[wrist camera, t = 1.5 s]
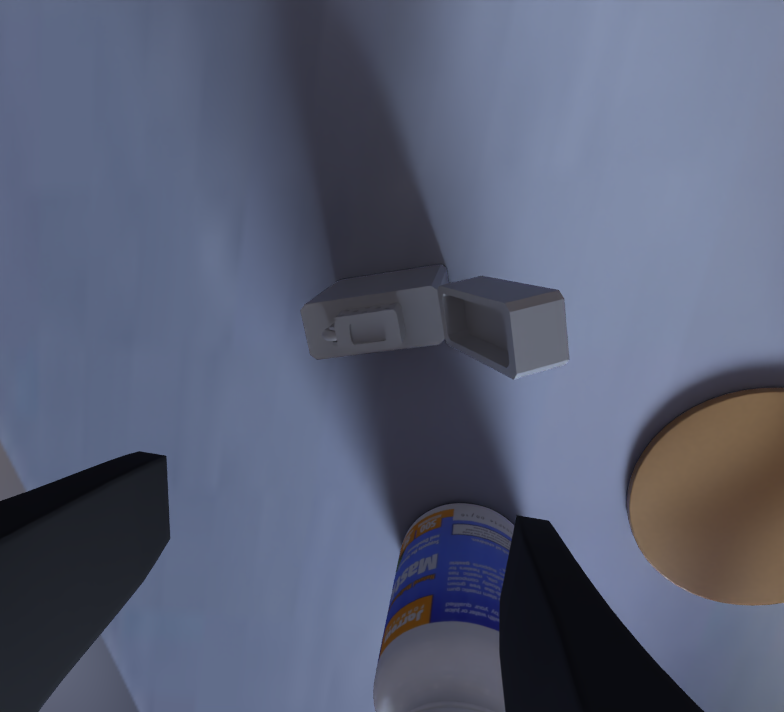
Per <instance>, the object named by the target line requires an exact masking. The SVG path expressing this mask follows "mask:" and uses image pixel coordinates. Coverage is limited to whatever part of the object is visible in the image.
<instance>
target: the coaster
mask: <svg viewBox="0 0 784 712" xmlns="http://www.w3.org/2000/svg"><path fill="white" fill-rule="evenodd" d="M627 513H628V520H629V523H630V527H631V531H632V533H633V535H634V538H635V540H636V542H637V545H638V547H639V548H640V550H641V552H642V553H643V555H644V556H645V558H646V559H647V560H648V561H649V563H650V564H651V565H652V566H653V567H654V568H655V569H656V570H657V571H658V572H659V573H660V574H661V575H662V576H664V577H665V578H666V579H668V580H669V581H671V582H672V583H673V584H675V585H676V586H678V587H680V588H682V589H684V590H686V591H688V592H690V593H692V594H695V595H697V596H700V597H703V598H705V599H709V600H713V601H717V602H721V603H728V604H735V605H751V606H754V605H771V604H778V603H784V388H757V389H749V390H742V391H737V392H733V393H729V394H725V395H722V396H719V397H716V398H713V399H710V400H708V401H706V402H703V403H701V404H699V405H697V406H695V407H693V408H691V409H689V410H688V411H686V412H685V413H683V414H681V415H680V416H678V417H677V418H675V419H674V420H673V421H672V422H670V423H669V424H668V425H667V426H665V427H664V428H663V429H662V430H661V431H660V432H659V433H658V434H657V435H656V436H655V437H654V438H653V439H652V441H651V442H650V443H649V444H648V446H647V447H646V448H645V450H644V451H643V453H642V454H641V456H640V458H639V460H638V462H637V463H636V465H635V468H634V471H633V473H632V476H631V479H630V483H629V487H628V493H627Z"/></svg>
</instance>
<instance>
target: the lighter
mask: <svg viewBox="0 0 784 712" xmlns="http://www.w3.org/2000/svg"><path fill="white" fill-rule="evenodd" d="M300 312H301V316H302V321H303V325H304V329H305V334H306V338H307V343H308V347H309V351H310V355H311V356H312V357H314V358H315V359H317V360H319V359H327V358H335V357H343V356H351V355H359V354H367V353H375V352H383V351H391V350H399V349H407V348H415V347H423V346H431V345H439V344H441V343H442V342H443V340H444V339H445V340H446V342H447V344H448V345H449V346H451V347H453V348H455V349H457V350H458V351H460V352H462V353H464V354H466V355H468V356H470V357H472V358H474V359H476V360H478V361H479V362H481V363H483V364H485V365H487V366H489V367H491V368H493V369H495V370H497V371H498V372H500V373H502V374H504V375H506V376H508V377H510V378H512V379H517V378H521V377H524V376H528V375H532V374H535V373H539V372H542V371H546V370H549V369H553V368H556V367H560V366H563V365H566V363H567V362H568V361H569V349H568V337H567V326H566V314H565V302H564V298H563V296H562V294H561V293H560V291H559V290H556V289H550V288H545V287H540V286H534V285H529V284H523V283H518V282H512V281H507V280H502V279H496V278H491V277H485V276H479V277H474V278H470V279H466V280H461V281H457V282H452V283H449V280H448V273H447V268H446V267H445V266H443V265H442V264H438V265H432V266H425V267H419V268H412V269H406V270H399V271H393V272H387V273H380V274H374V275H367V276H361V277H354V278H348V279H341V280H339V281H337V282H336V283H334V284H333V285H332V286H330V287H329V288H327V289H326V290H324V291H323V292H322V293H320V294H319V295H317V296H316V297H314V298H313V299H312V300H310V301H309V302H307V303H306V304H304V306H303V308H302V309H301V311H300Z"/></svg>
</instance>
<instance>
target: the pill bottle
mask: <svg viewBox="0 0 784 712" xmlns="http://www.w3.org/2000/svg"><path fill="white" fill-rule="evenodd" d="M513 531H514V525H513V524H512V523H511V522H510V521H509V520H507V519H506V518H505V517H504V516H502V515H501V514H499V513H497V512H495V511H493V510H491V509H489V508H486V507H483V506H479V505H475V504H468V503H453V504H447V505H443V506H439V507H437V508H434V509H432V510H430V511H428V512H426V513H425V514H423V515H422V516H421V517H420V518H418V519H417V520H416V521H415V522H414V523H413V524H412V526H411V527H410V528H409V530H408V532H407V534H406V536H405V538H404V541H403V544H402V547H401V551H400V555H399V561H398V565H397V570H396V575H395V580H394V585H393V589H392V595H391V599H390V605H389V610H388V615H387V619H386V624H385V629H384V634H383V639H382V644H381V649H380V654H379V659H378V664H377V669H376V675H375V680H374V689H373V699H374V706H375V711H376V712H505V704H504V694H503V685H502V675H501V665H500V655H499V608H500V596H501V591H502V586H503V581H504V576H505V571H506V566H507V561H508V556H509V551H510V546H511V541H512V536H513Z"/></svg>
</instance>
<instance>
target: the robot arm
mask: <svg viewBox="0 0 784 712" xmlns="http://www.w3.org/2000/svg"><path fill="white" fill-rule="evenodd" d="M169 540H170V524H169V503H168V481H167V460H166V456H164V455H158V454H152V453H146V452H140V451H139V452H135V453H131V454H128V455H125V456H122V457H119V458H116V459H113V460H110V461H107V462H105V463H102V464H99V465H96V466H94V467H91V468H88V469H86V470H83V471H81V472H78V473H75V474H73V475H70V476H67V477H65V478H62V479H60V480H57V481H54V482H52V483H49V484H46V485H44V486H41V487H39V488H36V489H33V490H31V491H28V492H25V493H22V494H19V495H16V496H14V497H11V498H8V499H5V500H2V501H0V712H39V710H40V709H41V707H42V706H43V705H44V703H45V702H46V701H47V700H48V698H49V697H50V696H51V694H52V693H53V692H54V690H55V689H56V688H57V687H58V685H59V684H60V683H61V681H62V680H63V679H64V678H65V676H66V675H67V674H68V673H69V672H70V670H71V669H72V668H73V667H74V666H75V664H76V663H77V662H78V661H79V660H80V658H81V657H82V656H83V655H84V654H85V652H86V651H87V650H88V649H89V647H90V646H91V645H92V644H93V643H94V641H95V640H96V639H97V638H98V637H99V635H100V634H101V633H102V632H103V631H104V629H105V628H106V627H107V626H108V625H109V623H110V622H111V621H112V620H113V618H114V617H115V616H116V615H117V614H118V612H119V611H120V610H121V609H122V607H123V606H124V605H125V604H126V603H127V601H128V600H129V599H130V598H131V596H132V595H133V594H134V593H135V591H136V590H137V589H138V588H139V586H140V585H141V584H142V583H143V581H144V580H145V578H146V577H147V575H148V574H149V572H150V570H151V569H152V567H153V566H154V564H155V563H156V561H157V560H158V558H159V556H160V555H161V553H162V551H163V550H164V548H165V546H166V545H167V543H168V541H169ZM499 655H500V665H501V675H502V685H503V694H504V704H505V712H704V711H703V710H702V709H701V708H700V707H699V706H698V705H697V704H696V703H695V702H694V701H693V700H692V699H691V698H690V697H689V696H688V695H687V694H686V693H685V692H684V691H683V690H682V689H681V688H680V687H679V686H678V685H677V684H676V683H675V681H674V680H673V679H672V678H671V677H670V676H669V675H668V674H667V673H666V672H665V671H664V670H663V669H662V668H661V667H660V666H659V665H658V664H657V663H656V661H655V660H654V659H653V658H652V657H651V656H650V655H649V654H648V653H647V651H646V650H645V649H644V648H643V647H642V646H641V644H640V643H639V642H638V641H637V640H636V639H635V637H634V636H633V635H632V634H631V633H630V631H629V630H628V629H627V628H626V627H625V625H624V624H623V623H622V622H621V621H620V619H619V618H618V617H617V616H616V614H615V613H614V612H613V611H612V609H611V608H610V607H609V605H608V604H607V603H606V601H605V600H604V599H603V597H602V596H601V595H600V593H599V592H598V591H597V589H596V588H595V587H594V585H593V584H592V583H591V581H590V580H589V578H588V577H587V575H586V574H585V573H584V571H583V570H582V568H581V567H580V565H579V564H578V563H577V561H576V560H575V558H574V557H573V555H572V554H571V552H570V551H569V549H568V548H567V546H566V545H565V543H564V542H563V540H562V539H561V537H560V536H559V534H558V533H557V532H556V530H555V529H554V527H553V526H552V524H551V523H550V522H549V521H547V520H542V519H536V518H530V517H524V516H518V515H516V520H515V525H514V531H513V536H512V541H511V546H510V551H509V556H508V561H507V566H506V571H505V576H504V581H503V586H502V591H501V596H500V608H499Z"/></svg>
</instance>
